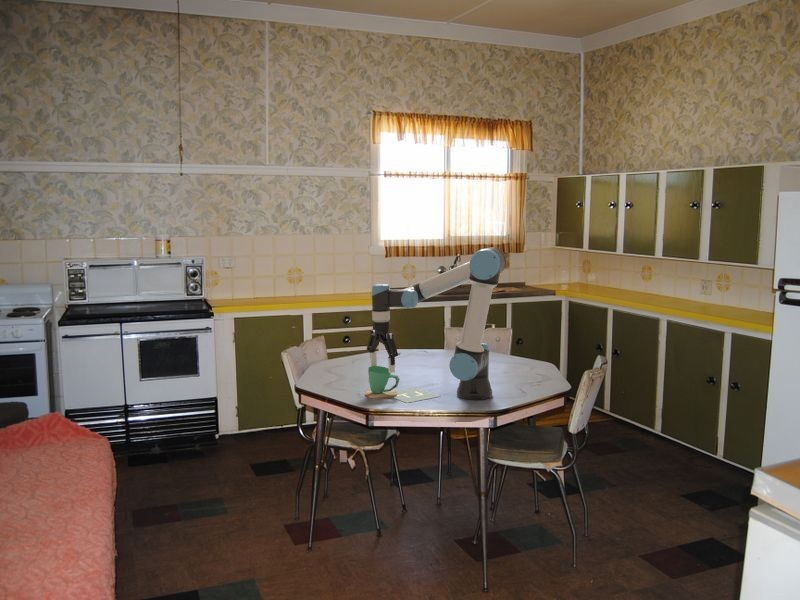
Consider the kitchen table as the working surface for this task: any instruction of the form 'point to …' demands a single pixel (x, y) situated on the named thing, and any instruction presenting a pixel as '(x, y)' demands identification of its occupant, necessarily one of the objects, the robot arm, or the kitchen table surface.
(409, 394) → the tile
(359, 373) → the kitchen table surface
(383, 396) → the coaster
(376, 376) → the mug
